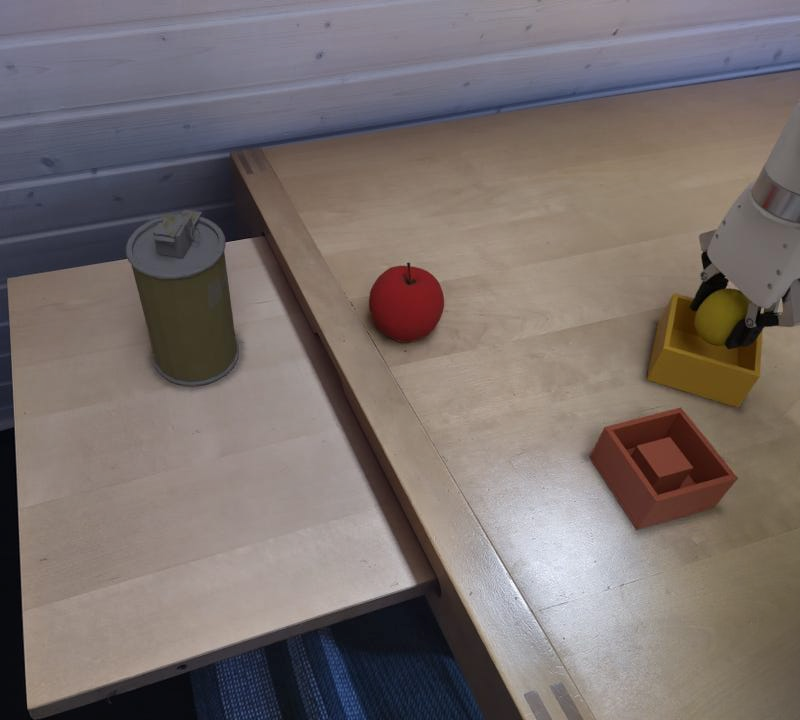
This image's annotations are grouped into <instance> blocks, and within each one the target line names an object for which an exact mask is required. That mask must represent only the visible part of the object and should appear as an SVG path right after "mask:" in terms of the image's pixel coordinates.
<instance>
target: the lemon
mask: <svg viewBox="0 0 800 720" xmlns="http://www.w3.org/2000/svg"><path fill="white" fill-rule="evenodd" d="M749 300H750V299H748V298H747V297H746V296H745V295H744V294H743V293H742V292H741V291H740V290H739V289H738V288H730V287H729V288H726V289H721V290H718V291H715V292H714V293H712V294H711V295H709V296H708V297H707V298H706V299H705V300H704V301H703V303H702V304H701V305H700V307H699V308H698V310H697V313H696V317H695V329H696V331H697V333H698V335H699V336H700V337H701V339H703V340H704V341H705V342H707V343H709V344H712V345H716V346H724V345H725V342H726V341H727V339H728V337H729V336H730V334H731V332H732V331H733V329H734V328H735V326H736V324H737V323H738V322H739V321H740V320H744V319H746V314H747V309H748V305H749Z"/></svg>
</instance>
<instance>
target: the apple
mask: <svg viewBox="0 0 800 720" xmlns="http://www.w3.org/2000/svg"><path fill="white" fill-rule="evenodd" d="M374 281H375V282H374V283H373V285H372V287H371V289H370V292H369V297H368V308H369V312H370V316H371V318H372V321H373V322H374V324H375V326H376V327H377V329H378V330H379V331H380V332H381V333H382V334H384V335H385V336H387V337H388V338H390V339H393V340H396V341H398V342H401V343H411V342H415V341H419V340H421V339H423V338H426V337H427V336H428V335H429V334H431V333H432V332H433V331H434V330H435V329H436V327H437V325H438V324H439V322H440V320H441V318H442V315H443V313H444V308H445V296H444V291H443V289H442V286H441V284H440V282H439V280H438V279H437V278H436V276H434V275H433V273H431V272H429V271H428V270H426V269H423V268H422V267H417V266H411V262H406V265H396V266H391V267H389V268H388V269H386V270H384V272H382V273H381V274H380V275H378V277H377V278H376V280H374Z"/></svg>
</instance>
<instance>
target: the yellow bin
mask: <svg viewBox="0 0 800 720" xmlns="http://www.w3.org/2000/svg"><path fill="white" fill-rule="evenodd" d="M694 298H695V297H690V296H687V295H683V294H679V293H676V292H673V293H672V295H671V297H670V299H669V301H668V303H667V305H666V307H665V309H664V311H663V313H662V314H661V317H660V319H659V322H658V323H657V324H656V325H657V326H656V330H655V336H654V341H653V345H652V352H651V356H650V361H649V365H648V366H649V367H648V372H647V376H646V381H649V382H653V383H656V384H659V385H663V386H665V387H669V388H673V389H676V390H679V391H682V392H685V393H688V394H692V395H694V396H699V397H702V398H705V399H708V400H712V401H715V402H718V403H720V404H721V403H722V404H723V405H724V404H725V405H728V406H731V407H734V408H739V407H740V406H741V404H742V403H743V401H744V400H745V399H746V397H747V396H748V394H749V393H750V392H751V390H752V389H753V387H754V386H755V385H756V383H757V382H758V380H759V379H760V377H761V369H762V368H761V367H762V366H761V365H762V351H763V349H762V348H763V332H764V331H763V330H764V329H763V330H762V331H761V333H760V334H759V336H758V337H757V339H756V340H755V342H754V343H753V344H751V345H749V346H746V347H742V346H741V347H737V348H733V349H728V348H727V347H726V346H725V345H724V346H716V345H712V344H709V343H707V342H705V341H704V340H703V339H701V337H700V336H699V335H698V333H697V331H696V329H695V317H696V313H697V311H692V309H691V308H690V305H691V303H692V301H693V300H694Z"/></svg>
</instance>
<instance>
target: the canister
mask: <svg viewBox="0 0 800 720" xmlns="http://www.w3.org/2000/svg"><path fill="white" fill-rule="evenodd" d="M225 236H226V235H225V234H224V232H223V230H222V228H221V227H219V225H217V224H216V223H215V222H213V221H211V220H210V219H208V218H207V217H206V218H205V217H204V212H202V211H196V210H190V209H184V210H183V212H182V213H180V214H179V213H177V214H166V213H163V214H162V215H161V216H160V217H158V218H154V219H151V220H149V221H147V222H146V223H144V224H143V225H141V226H139V227H138V228H137V229H135V230H134V232H133V233H132V234H131V235H130V236H129V238H128V239H127V242H126V247H125V255H126V259H127V261H128V262H129V264H130V265H131V269H132V273H133V277H134V281H135V285H136V288H137V289H136V290H137V293H138V297H139V301H140V305H141V309H142V312H143V317H144V321H145V325H146V328H147V332H148V336H149V340H150V345H151V349H152V352H153V362H154V366H155V368H156V370H157V372H158V373H159V374H160V375H161V377H163V378H164V379H166V380H167V381H169V382H171V383H174V384H176V385H180V386H188V387H196V386H197V387H198V386H199V387H200V386H204V385H209V384H211V383H214V382H216V381H218V380H221V379H222V378H223V377H225V376H226V375H228V374H229V372H231V371H232V369H233V368H234V367H235V365H236V363H237V361H238V359H239V355H240V346H239V342H238V340H237V338H236V331H235V324H234V316H233V309H232V308H233V307H232V299H231V293H230V283H229V277H228V269H227V262H226V254H225V251H226V250H225V249H226V242H227V241H226V237H225Z"/></svg>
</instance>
